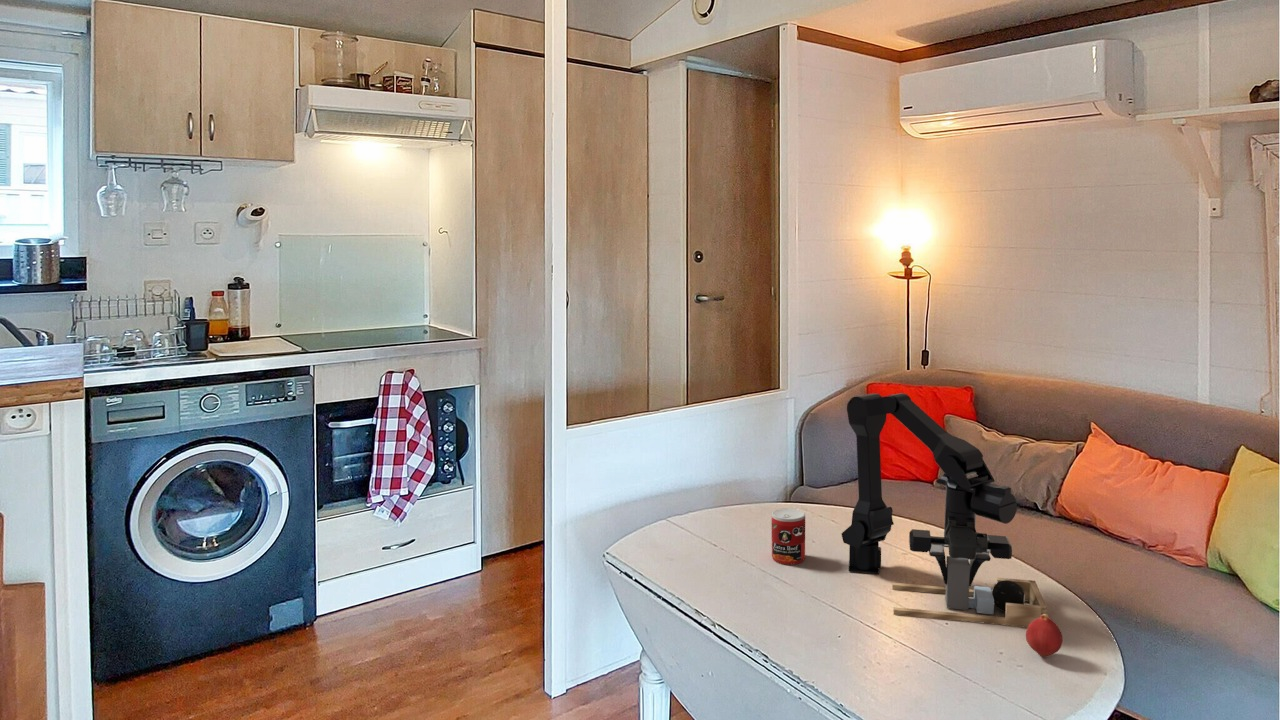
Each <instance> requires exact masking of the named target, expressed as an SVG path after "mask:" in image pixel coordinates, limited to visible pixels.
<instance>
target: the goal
mask: <svg viewBox="0 0 1280 720" xmlns="http://www.w3.org/2000/svg"><path fill="white" fill-rule="evenodd" d="M1003 580H1009V581H1013V582H1016V583H1017V584H1019V585H1020V586H1021V587H1022V589H1023V591H1024V593H1025V602H1029V604H1025V603H1024V604H1015V603H1006V610H1005V611H1004V612H1005V614H1004V615H1005V616H1004V617H1005V618H1006V625H1005V626H1009V625H1013V627H1019V626H1024V627H1023V628H1028V626H1029V624H1030V623H1031V622H1032V621H1034V620H1035V619H1037V618H1040V617H1041V615H1042V614H1046V615H1048V616H1049V608H1048V605H1047V604H1046V601H1045V599H1044V596H1043V595H1042V593H1041V591H1040V588H1039V587H1038V584H1037V582H1036V580H1031V579H1030V580H1029V579H1028V580H1027V579H1017V578H1005V577H996V584H997V583H998V582H1000V581H1003Z"/></svg>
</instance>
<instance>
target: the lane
mask: <svg viewBox="0 0 1280 720" xmlns="http://www.w3.org/2000/svg"><path fill="white" fill-rule="evenodd" d="M891 584H892V585H891V587H892V589H891V590H895V591H907V592H918V593H919V592H920V593H928V594H929V593H930V594H939V595H941V594H942V595H945V593H946V586H937V585H936V586H935V585H925V584H924V585H922V584H914V583H913V584H912V583H902V582H901V583H899V582H892V583H891ZM991 592H992V590H991ZM969 597H973V598H974V588H973V589H972V588H971V589H970V588H969ZM893 615H895V616H896V615H897V616H905V617H914V618H915V617H916V618H926V619H927V618H928V619H937V620H946V619H947V620H948V621H956V620H961V621H960V622H967V621H971V623H977V622H984V623H983V624H988V623H994V624H993V625H998V624H1005V625H1004V626H1007V625H1006V618H1005V616H993V615H982V614H974V613H973V614H972V613H971V614H970V613H961V612H951V611H950V612H949V611H939V610H938V611H937V610H928V609H918V608H906V607H896V606H894V607H893Z"/></svg>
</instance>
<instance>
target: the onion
mask: <svg viewBox="0 0 1280 720" xmlns="http://www.w3.org/2000/svg"><path fill="white" fill-rule="evenodd" d="M1026 628H1027V629H1026V632H1025V639H1026V641H1027V643H1028V645H1029V647H1030V648H1031V649H1032V650H1033V651H1034V652H1036V653H1037V654H1038V656H1039V657H1041V658H1043V659H1044V658H1048V657H1050V656H1052V655H1054V654H1056V653H1057V652H1059V650H1061V647H1062V645H1063V639H1064V638H1063V633H1062V631H1061V628H1060V627H1059V625H1057V624H1056V622H1055V621H1054V620H1052V619H1051V618H1050V617H1049V614H1048V615H1046V614H1042V615H1041V617H1040V618H1037V619H1035V620H1034V621H1032V622H1031V623H1030V624H1029V626H1028V627H1026Z"/></svg>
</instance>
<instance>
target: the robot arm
mask: <svg viewBox="0 0 1280 720" xmlns="http://www.w3.org/2000/svg"><path fill="white" fill-rule="evenodd" d="M846 413H847V419H848V423H849V426H850V428H851V429H852V430H853V432H854V434H855V436H856V457H857V458H856V459H857V483H858V484H857V485H858V488H857V489H858V500H857V502H856V505H854V509H853V510H852V517H851V524H850V525H849V526H848V527H847V528H846V529H844V530H843V531H842V533H841V539H842V542H843V544H846V545H848V546H849V547H848V548H849V550H848V551H849V554H848V555H849V556H848V569H847V571H848V572H849V573H862V574H874V575H877V574H880V573H879V572H880V571H879V570H880V569H881V568H882V547H881V546H879V542H881V541H882V542H884V541H885V540H886V538H887V535H888V534H889V533H890V532H891V530H892V526H893V525H894V521H893V511H894V510H893V507H892V506H887V504H886V502H885V501H884V500H883V495H882V494H883V493H882V465H881V440H880V439H881V438H880V437H881V436H880V435H881V432H882V431H883V428H884V426H885V424H886V422H887V415H888V414H891V415H892V416H893V417H894V418H895V419H896V420H897V421H898V422H900V423H901V424H902V425H903V426H904V427H905V428H906V429H907V430H908V431H910V433H911V434H913V435H914V436H915V437H916V438H917V439H919V441H920V442H921V443H922V444H924V445H925V446H926V447H927V448H928V449H929V450H930V452H931V453H932V456H933V457H934V458H933V459H934V462H935V464H937V466H938V467H939V468H940V469H941V471H942V472H943V474H942V475H941V477H939V478H937V479H936V480H935V483H937V484H939V485H942V486H945V503H944V504H945V505H944V524H943V525H944V526H943V527H944V528H943V536H935V535H933V536H931V531H930V530H928V529H914V528H912V529H911V530H910V531H909V535H908V543H909V544H908V545H909V551H911V552H914V553H915V552H917V553H928V554H929V556H930V557H934V558H935V559H936V561H937V563H938V566H939V569H940V572H941V576H942V578H943V582H944V584H945V585H946V584H947V569H946V561H947V558H946V552H945V548H948V556H950V557H952V558H967V559H968V560H969V564H970V578H969V587H971V586H972V584H973V582H974V579H975V577H976V575H977V572H978V570H979V569H980V568H981V566H982V564H984V563H985V562H989V561H991V560H992V559H991V556H992V557H993V558H994V559H1003V560H1011V559H1012V557H1013V549H1012V548H1013V547H1012V545H1011V544H1012V543H1011V542H1010V539H1008V537H1007V536H1006V535H996V534H995V535H994V534H987V533H982V532H977V530H976V522H977V521H976V518H977V516H978V517H981V518H984V519H988V520H990V521H991V520H992V521H994V522H999V523H1002V524H1005V525H1006V524H1009V523H1011V522H1012V521H1013V519H1014V518H1015V515H1016V514H1017V509H1018V502H1017V499H1016V497H1015V495H1014V494H1012V488H1011V486H1007V485H998V484H995V478H994V477H993V475H992V473H991V471H990V470H989V468H988V466H987V464H986V462H985V461H984V455H983V453H982V452H981V450H980V449H979V448H978V447H976V446H974V445H973V444H971V443H970V442H968V441H967V440H965V439H962V438H961V437H960V438H959V437H958V436H955V435H952V434H950V433H949V432H947V430H945V428H943V427H942V426H941V425H940V424H938V423H937V422H936V420H934V419H933V418H932V417H931V416H929V414H927V413H926V412H925V411H924V410H923V409H921V408H920V406H918V405H917V404H916V403H915V402H914V401H913V400H912V398H911V397H910V396H909V395H908V394H906V393H904V392H903V393H902V392H900V393H896V394H895V393H894V394H890V395H886V396H883V395H881V394H880V393H876V392H875V393H874V392H873V393H869V394H868V393H867V394H862V395H861V394H860V395H857V396H852V397H851V398H850V399H849V401H847V403H846ZM973 475H976V476H974V477H973ZM969 476H972V477H969ZM968 477H969V478H968Z"/></svg>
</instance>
